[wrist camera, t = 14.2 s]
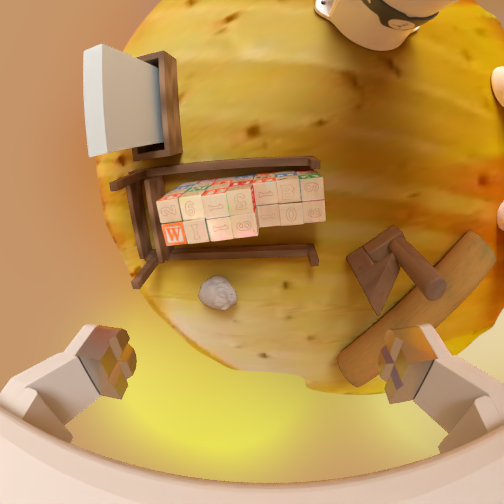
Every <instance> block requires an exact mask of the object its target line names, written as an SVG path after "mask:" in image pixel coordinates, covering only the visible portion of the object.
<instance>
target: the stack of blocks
mask: <svg viewBox="0 0 504 504" xmlns="http://www.w3.org/2000/svg"><path fill="white" fill-rule="evenodd" d="M156 204H157V209H158V213H159V218H160V223H162V231H163V235H164V239H165V242H166V245H167V246H172V245H180V244H187V243H188V244H195V243H202V242H209V241H212V242H214V241H221V240H229V239H234V238H244V237H252V236H258V233H259V228H262V227H272V226H289V225H300V224H304V223H313V222H325V221H326V214H325V200H324V184H323V177H322V176H321V175H320V174H318V173H317V172H316V171H314V170H313V169H306V170H295V171H294V170H287V171H276V172H265V173H256V174H250V175H241V176H234V177H226V178H215V179H208V180H200V181H192V182H186V183H182V184H181V185H179V186H178V187H177V188H175V189H174V190H172V191H170V192H169V193H167V194H166V195H164V197H162V198H160V199H159V200H157V201H156Z"/></svg>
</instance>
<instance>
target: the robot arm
mask: <svg viewBox="0 0 504 504" xmlns="http://www.w3.org/2000/svg"><path fill="white" fill-rule="evenodd" d="M458 1H460V0H315V6H314V9H315V11H316V13H318V14H319V15H320V16H322V17H324V18H326V19H328V20H329V21H331V22H332V23H333V24H334V25H335V26H336V27H337V29H338V30H339V31H340V32H341V33H342V34H343V35H344V36H346V37H347V38H348V39H350V40H351V41H353V42H354V43H356V44H358V45H360V46H362V47H365V48H368V49H371V50H377V51H388V50H392V49H395V48H397V47H399V46H400V45H401V44H402V43H403V42H404V40H405V39H406V38H407V36H408V35H409V34H410V33H413V32H415V31H416V30H417V29H418V28H419V26H420V25H422V24H424V23H426V22H428V21H429V20H431V19H433V18H434V17H435V16H436V15H437V14H438V13H439V11H440V10H442V9H444V8H446V7H448V6H450V5H452V4H454V3H456V2H458ZM321 2H323V3H325V5H323V4H321ZM129 339H130V338H129V336H128V333H127V331H126V330H124V329H121V328H113V327H107V326H100V325H99V326H98V325H92V324H86V325H84V326H83V328H82V329H81V330H80V331H79V333H78V334H77V335H76V337H75V338H74V339H73V341H72V342H71V343H70V344H69V346H68V347H67V348H66V350H65V351H64V352H63V353H58V354H56V355H54V356H52V357H50V358H48V359H46V360H44V361H43V362H41V363H39V364H37V365H35V366H33V367H31V368H30V369H28V370H26V371H24V372H22V373H20V374H18V375H16V376H14V377H13V378H11V379H10V380H9V382H8V383H7V385H6V386H5V387H4V389H3V390H2V392H1V393H0V504H504V383H502V382H500V381H499V380H497V379H495V378H494V377H492V376H491V375H489V374H487V373H485V372H483V371H482V370H480V369H478V368H477V367H475V366H473V365H472V364H470V363H468V362H466V361H465V360H463V359H461V358H460V357H458V356H456V355H454V356H452V355H451V354H450V352H449V350H448V349H447V347H446V346H445V344H444V343H443V341H442V339H441V338H440V336H439V335H438V333H437V332H436V330H435V329H434V327H433V326H432V325H431V324H429V323H428V324H422V325H416V326H410V327H403V328H395V329H388V330H387V332H386V333H385V337H384V341H385V343H386V345H385V346H384V347H383V348H382V349H381V350H380V353H379V356H378V370H379V374H380V377H381V378H382V379H383V380H385V381H386V382H387V383H386V386H385V391H386V394H387V397H388V400H389V403H390V404H393V403H399V402H404V401H410V400H413V401H414V402H415V403H416V404H417V405H418V406H419V407H420V408H422V410H424V411H425V412H426V413H427V414H428V415H429V416H430V417H431V418H432V419H433V420H435V421H436V422H437V423H438V424H439V425H440V426H441V427H442V428H443V429H444V430H446V431H447V432H448V433H449V434H448V435H447V436H446V437H445V438H444V440H443V441H442V442H441V443H440V445H439V446H438V448H439V451H440V454H438V455H435V456H432V457H429V458H427V459H424V460H420V461H417V462H413V463H410V464H407V465H403V466H400V467H395V468H392V469H387V470H383V471H378V472H374V473H369V474H364V475H358V476H352V477H345V478H338V479H331V480H322V481H311V482H294V483H245V482H244V483H243V482H229V481H217V480H208V479H200V478H193V477H186V476H181V475H175V474H169V473H165V472H160V471H155V470H150V469H147V468H143V467H139V466H135V465H131V464H128V463H124V462H121V461H118V460H114V459H111V458H108V457H105V456H102V455H99V454H96V453H94V452H91V451H88V450H85V449H83V448H80V447H78V446H75V445H73V444H71V443H70V442H71V440H72V438H73V437H72V434H71V433H70V432H69V431H68V429H67V428H66V427H65V426H64V425H65V424H67V423H68V422H69V421H70V420H72V419H73V418H74V417H75V416H77V415H78V414H79V413H80V412H82V411H83V410H84V409H85V408H87V407H88V406H89V405H90V404H92V403H93V402H94V401H95V400H97V399H98V398H99V397H100V395H102V396H107V397H112V398H117V399H122V397H123V395H124V393H125V390H126V388H127V386H128V383H127V380H126V379H128V378H129V377H131V376H132V375H133V373H134V371H135V369H136V362H137V361H136V354H135V351H134V349H133V348H132V347H131V346H130V345H129V344H128V341H129Z"/></svg>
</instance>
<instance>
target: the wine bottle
mask: <svg viewBox="0 0 504 504" xmlns="http://www.w3.org/2000/svg"><path fill="white" fill-rule="evenodd" d="M491 84H492V89H493V92H494V95H495V97H496V99H497V100H498V102H499V103H500V104H501V105H502V106H503V107H504V67H497V68H496V69H494V71H493V72H492V76H491Z"/></svg>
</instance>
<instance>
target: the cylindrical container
mask: <svg viewBox="0 0 504 504" xmlns="http://www.w3.org/2000/svg"><path fill="white" fill-rule="evenodd" d="M497 224H498V227H499V228H500V229H501V230H503V231H504V201H503V202H502V204H501V205H500V207H499V209H498V213H497Z"/></svg>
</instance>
